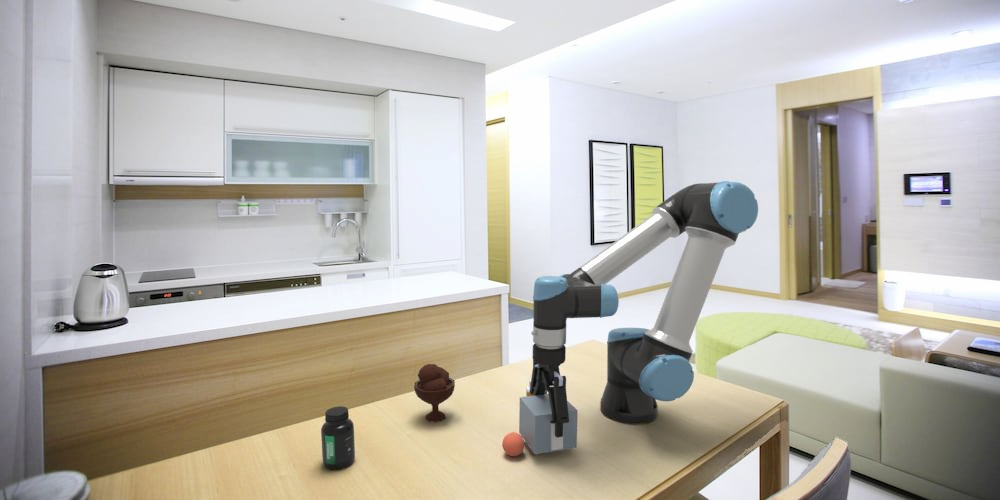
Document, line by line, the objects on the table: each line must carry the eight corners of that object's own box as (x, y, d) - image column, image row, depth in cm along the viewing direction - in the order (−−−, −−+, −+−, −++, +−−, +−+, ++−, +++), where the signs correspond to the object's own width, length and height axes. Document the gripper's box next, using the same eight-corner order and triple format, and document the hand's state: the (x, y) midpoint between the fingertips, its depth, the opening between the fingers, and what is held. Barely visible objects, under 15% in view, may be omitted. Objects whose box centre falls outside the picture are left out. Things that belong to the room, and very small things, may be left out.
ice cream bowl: (449, 428, 119) (448, 371, 117) (408, 425, 121) (406, 369, 119) (461, 410, 129) (460, 358, 128) (422, 407, 131) (421, 355, 130)
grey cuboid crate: (558, 427, 115) (559, 392, 114) (576, 447, 105) (577, 410, 104) (519, 432, 112) (519, 397, 111) (534, 454, 102) (535, 415, 101)
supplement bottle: (332, 475, 99) (329, 421, 98) (317, 463, 104) (314, 411, 102) (361, 461, 104) (358, 410, 103) (345, 450, 109) (343, 401, 107)
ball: (520, 447, 109) (520, 427, 109) (527, 458, 105) (527, 437, 104) (499, 450, 108) (499, 430, 107) (506, 462, 103) (506, 440, 103)
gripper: (517, 332, 116) (516, 417, 118) (554, 361, 94) (551, 465, 96) (545, 330, 118) (543, 414, 120) (587, 358, 96) (584, 460, 99)
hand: (547, 437), depth 108 cm, fingers closed on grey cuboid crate, 10 cm apart
